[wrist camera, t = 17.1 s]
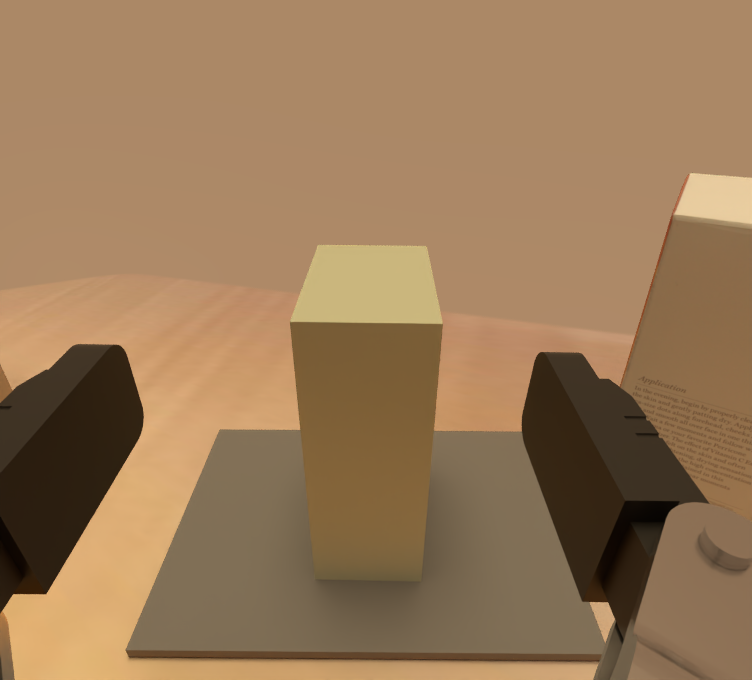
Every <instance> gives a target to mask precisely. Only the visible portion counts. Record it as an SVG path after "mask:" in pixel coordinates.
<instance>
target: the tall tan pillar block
mask: <svg viewBox="0 0 752 680" xmlns="http://www.w3.org/2000/svg"><path fill="white" fill-rule="evenodd" d="M290 327H291V338H292V348H293V358H294V369H295V379H296V389H297V400H298V410H299V420H300V431H301V441H302V452H303V462H304V472H305V483H306V493H307V503H308V514H309V524H310V534H311V545H312V555H313V565H314V576H315V579H321V580H368V581H415V582H421V578H422V566H423V554H424V542H425V530H426V518H427V506H428V494H429V482H430V470H431V458H432V447H433V435H434V423H435V411H436V399H437V387H438V375H439V363H440V351H441V339H442V327H443V322H442V318H441V313H440V308H439V303H438V299H437V294H436V289H435V284H434V279H433V274H432V269H431V265H430V260H429V255H428V250H427V246H366V245H363V246H362V245H318V247H317V249H316V252H315V255H314V258H313V260H312V263H311V266H310V268H309V271H308V275H307V277H306V279H305V282H304V285H303V288H302V290H301V293H300V296H299V298H298V301H297V304H296V307H295V309H294V312H293V315H292V318H291V320H290Z"/></svg>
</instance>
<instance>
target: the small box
mask: <svg viewBox="0 0 752 680" xmlns="http://www.w3.org/2000/svg"><path fill="white" fill-rule="evenodd" d="M620 388H622V389H623V390H624V391H626V392H627V393H628V394H630V395H631V396H632V397H633V398H634V400H635V401H636V402H637V404H638V405H639V407H640V408H641V409H642V411H643V412H644V413H645V415H646V416H647V417H646V419H647V420H650V422H651V423H652V424H653V426H654V427H655V429H656V430H657V431H658V433H659V438H663V440H664V441H665V442H666V444H667V445H668V447H669V448H670V449H671V451H672V452H673V454H674V455H675V456H676V458H677V459H678V460H679V462H680V463H681V465H682V466H683V467H684V469H685V470H686V472H687V473H688V474H689V476H690V477H691V478H692V480H693V481H694V483H695V484H696V485H697V487H698V488H699V490H700V491H701V492H702V494H703V495H704V496H705V498H706V499H707V501H708V502H709V503H710V504H712V505H716V506H720V507H723V508H725V509H728V510H731V511H733V512H735V513H737V514H739V515H741V516H743V517H745V518H746V519H748V520H750V521H751V522H752V178H745V177H732V176H720V175H706V174H694V173H691V174H688V175H687V177H686V179H685V182H684V184H683V186H682V189H681V192H680V194H679V197H678V200H677V202H676V205H675V208H674V210H673V213H672V216H671V219H670V222H669V225H668V229H667V232H666V236H665V239H664V242H663V245H662V249H661V252H660V255H659V259H658V262H657V266H656V269H655V273H654V276H653V279H652V282H651V286H650V289H649V293H648V296H647V299H646V302H645V306H644V309H643V312H642V316H641V319H640V322H639V325H638V329H637V332H636V335H635V338H634V342H633V345H632V348H631V351H630V355H629V358H628V361H627V365H626V368H625V371H624V374H623V378H622V381H621V384H620Z"/></svg>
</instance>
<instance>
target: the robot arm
mask: <svg viewBox="0 0 752 680" xmlns="http://www.w3.org/2000/svg"><path fill="white" fill-rule="evenodd" d="M646 417H647V416H646V415H645V413H644V412H643V411H642V409H641V408H640V407H639V405H638V404H637V402H636V401H635V400H634V398H633V397H632V396H631V395H630V394H628V393H627V392H626V391H624V390H623V389H622V388H620V387H619V386H618V385H616V384H615V383H614V382H612V381H611V380H610V379H599V378H598V376H597V375H596V373H595V372H594V370H593V369H592V367H591V366H590V364H589V363H588V361H587V360H586V358H585V357H584V356H583V355H582V354H581V353H562V352H540V353H539V354H538V355H537V357H536V359H535V362H534V366H533V371H532V375H531V379H530V384H529V388H528V393H527V397H526V401H525V406H524V410H523V415H522V436H523V441H524V445H525V448H526V451H527V453H528V456H529V459H530V462H531V464H532V467H533V470H534V472H535V475H536V478H537V481H538V483H539V486H540V489H541V491H542V494H543V497H544V500H545V502H546V505H547V508H548V510H549V513H550V516H551V519H552V521H553V524H554V527H555V529H556V532H557V535H558V538H559V540H560V543H561V546H562V548H563V551H564V554H565V557H566V559H567V562H568V565H569V567H570V570H571V573H572V576H573V578H574V581H575V584H576V586H577V589H578V592H579V595H580V597H581V600H582V602H608V603H609V605H610V608H611V610H612V613H613V615H614V617H615V621H614V623H613V625H612V627H611V629H610V632H609V635H608V638H607V641H606V644H605V647H604V650H603V653H602V656H601V659H600V662H599V664H598V667H597V670H596V673H595V676H594V679H593V680H752V522H751V521H750V520H748V519H746V518H745V517H743V516H741V515H739V514H737V513H735V512H733V511H731V510H728V509H725V508H723V507H720V506H716V505H712V504H710V503H709V502H708V501H707V499H706V498H705V496H704V495H703V494H702V492H701V491H700V490H699V488H698V487H697V485H696V484H695V483H694V481H693V480H692V478H691V477H690V476H689V474H688V473H687V472H686V470H685V469H684V467H683V466H682V465H681V463H680V462H679V460H678V459H677V458H676V456H675V455H674V454H673V452H672V451H671V449H670V448H669V447H668V445H667V444H666V442H665V441H664V440H663V438H659V433H658V431H657V430H656V429H655V427H654V426H653V424H652V423H651V422H650V420H647V419H646ZM143 418H144V416H143V407H142V404H141V400H140V397H139V394H138V390H137V387H136V384H135V380H134V377H133V374H132V370H131V367H130V364H129V361H128V357H127V354H126V352H125V350H124V349H123V348H122V347H121V346H119V345H96V344H77V345H74V346H72V347H71V348H70V349H69V350H68V351H67V352H66V353H65V354H64V355H63V356H62V357H61V358H60V359H59V360H58V361H57V362H56V363H55V364H54V365H53V366H52V367H51V368H50V369H49V370H45V371H43V372H41V373H39V374H38V375H36V376H34V377H33V378H31V379H29V380H27V381H26V382H24V383H22V384H21V385H19V386H17V387H16V388H15V389H14V390H13V391H12V392H11V393H10V394H9V395H8V396H7V397H6V398H5V399H4V400H3V401H2V402H1V403H0V680H15V679H14V670H13V662H12V653H11V645H10V636H9V628H8V622H7V618H6V617H5V615H4V613H3V612H2V610H3V609H4V607H5V606H6V604H7V603H8V601H9V600H10V598H11V597H12V595H13V594H47V592H48V590H49V589H50V587H51V585H52V584H53V582H54V580H55V579H56V577H57V575H58V574H59V572H60V570H61V568H62V567H63V565H64V563H65V562H66V560H67V558H68V557H69V555H70V553H71V552H72V550H73V548H74V547H75V545H76V543H77V542H78V540H79V538H80V537H81V535H82V533H83V532H84V530H85V528H86V527H87V525H88V523H89V522H90V520H91V518H92V516H93V515H94V513H95V511H96V510H97V508H98V506H99V505H100V503H101V501H102V500H103V498H104V496H105V495H106V493H107V491H108V490H109V488H110V486H111V485H112V483H113V481H114V480H115V478H116V476H117V475H118V473H119V471H120V470H121V468H122V466H123V464H124V463H125V461H126V459H127V458H128V456H129V454H130V453H131V451H132V449H133V448H134V446H135V444H136V443H137V441H138V439H139V437H140V435H141V431H142V427H143Z"/></svg>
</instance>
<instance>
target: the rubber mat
mask: <svg viewBox="0 0 752 680" xmlns="http://www.w3.org/2000/svg"><path fill="white" fill-rule="evenodd" d="M604 647H605V642H604V639H603V637H602V634H601V632H600V629H599V626H598V624H597V621H596V619H595V616H594V613H593V611H592V608H591V606H590V603H589V602H582V600H581V597H580V595H579V592H578V589H577V586H576V584H575V581H574V578H573V576H572V573H571V570H570V567H569V565H568V562H567V559H566V557H565V554H564V551H563V548H562V546H561V543H560V540H559V538H558V535H557V532H556V529H555V527H554V524H553V521H552V519H551V516H550V513H549V510H548V508H547V505H546V502H545V500H544V497H543V494H542V491H541V489H540V486H539V483H538V481H537V478H536V475H535V472H534V470H533V467H532V464H531V462H530V459H529V456H528V453H527V451H526V448H525V445H524V441H523V436H522V432H484V431H434V435H433V447H432V458H431V470H430V482H429V494H428V506H427V518H426V530H425V542H424V554H423V566H422V578H421V582H415V581H368V580H321V579H315V576H314V565H313V555H312V545H311V534H310V524H309V514H308V503H307V493H306V483H305V472H304V462H303V452H302V441H301V431H300V430H219V433H218V435H217V437H216V440H215V442H214V444H213V447H212V449H211V451H210V454H209V456H208V458H207V461H206V463H205V465H204V468H203V470H202V473H201V475H200V477H199V480H198V482H197V484H196V487H195V489H194V491H193V494H192V496H191V498H190V501H189V503H188V505H187V508H186V510H185V512H184V515H183V517H182V519H181V522H180V524H179V526H178V529H177V531H176V533H175V536H174V538H173V540H172V543H171V545H170V547H169V550H168V552H167V554H166V557H165V559H164V561H163V564H162V566H161V568H160V571H159V573H158V576H157V578H156V580H155V583H154V585H153V587H152V590H151V592H150V594H149V597H148V599H147V601H146V604H145V606H144V608H143V611H142V613H141V615H140V618H139V620H138V622H137V625H136V627H135V629H134V632H133V634H132V636H131V639H130V641H129V643H128V646H127V648H126V652H127V654H128V656H129V657H232V658H350V659H468V660H585V661H600V659H601V656H602V653H603V650H604Z"/></svg>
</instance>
